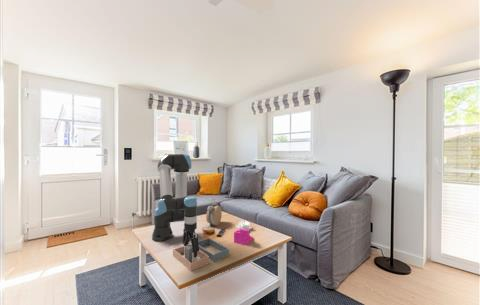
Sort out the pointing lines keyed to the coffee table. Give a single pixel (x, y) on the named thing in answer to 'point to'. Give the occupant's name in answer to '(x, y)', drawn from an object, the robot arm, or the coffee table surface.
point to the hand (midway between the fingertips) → (190, 258)
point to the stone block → (188, 252)
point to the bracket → (242, 236)
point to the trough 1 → (189, 265)
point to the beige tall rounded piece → (214, 214)
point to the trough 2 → (218, 246)
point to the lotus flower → (243, 225)
